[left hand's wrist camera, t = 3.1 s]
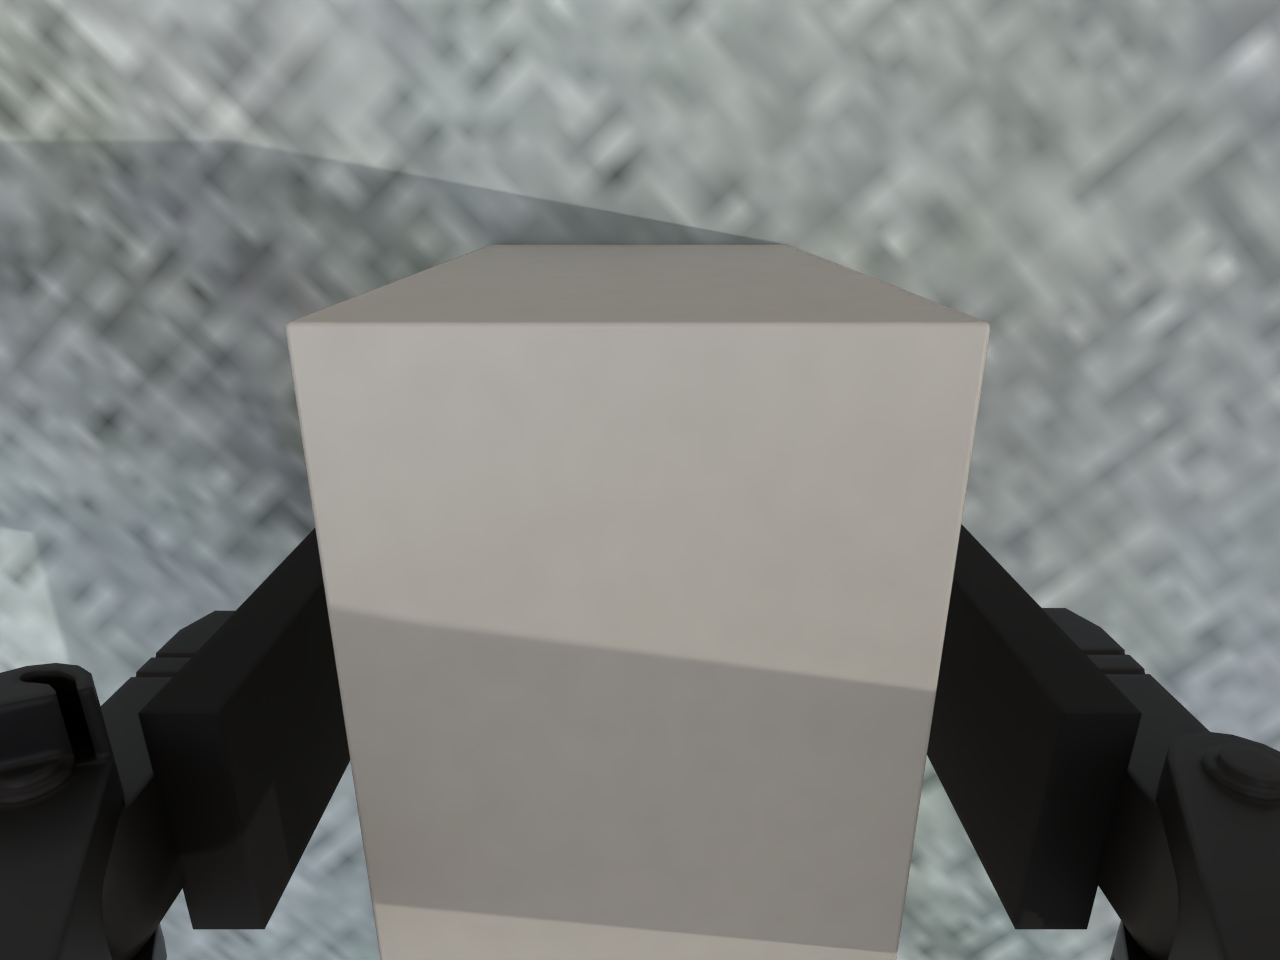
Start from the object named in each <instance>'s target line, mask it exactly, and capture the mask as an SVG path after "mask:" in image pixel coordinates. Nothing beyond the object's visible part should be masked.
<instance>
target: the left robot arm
mask: <svg viewBox="0 0 1280 960" xmlns="http://www.w3.org/2000/svg"><path fill="white" fill-rule="evenodd" d="M927 755H928V757H929V759H930V761H931V763H932V765H933V767H934V769H935V771H936V773H937V775H938V777H939V779H940V781H941V783H942V785H943V787H944V789H945V791H946V793H947V795H948V797H949V799H950V801H951V803H952V805H953V807H954V809H955V811H956V813H957V815H958V817H959V819H960V821H961V823H962V825H963V827H964V829H965V831H966V833H967V835H968V836H969V838H970V840H971V842H972V844H973V846H974V848H975V850H976V852H977V854H978V856H979V858H980V860H981V862H982V864H983V866H984V868H985V870H986V872H987V874H988V876H989V878H990V880H991V882H992V884H993V886H994V888H995V890H996V892H997V894H998V896H999V898H1000V900H1001V902H1002V904H1003V906H1004V908H1005V910H1006V912H1007V914H1008V916H1009V918H1010V919H1011V921H1012V923H1013V925H1014V927H1015V929H1087V926H1088V923H1089V919H1090V915H1091V911H1092V907H1093V903H1094V899H1095V895H1096V891H1097V887H1098V885H1099V887H1100V888H1101V890H1102V891H1103V893H1104V894H1105V896H1106V898H1107V899H1108V901H1109V902H1110V904H1111V905H1112V907H1113V908H1114V910H1115V911H1116V913H1117V914H1118V916H1119V917H1120V919H1121V922H1120V926H1119V930H1118V933H1117V937H1116V940H1115V944H1114V948H1113V951H1112V955H1111V959H1110V960H1280V752H1279V751H1277V750H1275V749H1273V748H1271V747H1269V746H1266V745H1264V744H1261V743H1258V742H1255V741H1251V740H1248V739H1245V738H1241V737H1238V736H1235V735H1230V734H1222V733H1213V732H1210V731H1209V730H1207V729H1206V728H1205V727H1204V726H1203V725H1202V724H1201V723H1200V722H1199V721H1198V720H1197V719H1196V718H1195V717H1194V716H1193V715H1192V714H1191V713H1190V712H1189V711H1188V710H1187V709H1186V708H1184V707H1183V706H1182V705H1181V704H1180V703H1179V702H1178V701H1177V700H1176V699H1175V698H1174V697H1173V696H1172V695H1171V694H1170V693H1169V692H1168V691H1167V690H1166V689H1165V688H1164V687H1162V686H1161V685H1160V684H1159V683H1158V682H1157V681H1156V680H1155V679H1154V678H1153V677H1152V676H1151V675H1150V674H1145V672H1144V668H1143V667H1142V666H1141V665H1139V664H1138V663H1137V662H1136V661H1135V660H1134V659H1133V658H1132V657H1131V656H1130V655H1125V650H1124V649H1123V648H1122V647H1121V646H1120V645H1119V644H1117V643H1116V642H1115V641H1114V640H1113V639H1112V638H1111V637H1110V636H1109V635H1108V634H1107V633H1106V632H1105V631H1104V630H1103V629H1102V628H1101V627H1099V626H1097V625H1095V624H1093V623H1092V622H1090V621H1088V620H1086V619H1084V618H1082V617H1081V616H1079V615H1077V614H1075V613H1073V612H1072V611H1070V610H1068V609H1066V608H1041V607H1040V606H1039V605H1038V604H1037V603H1036V602H1035V601H1034V600H1033V599H1032V598H1031V597H1030V596H1029V594H1028V593H1027V592H1026V591H1025V590H1024V589H1023V588H1022V587H1021V586H1020V585H1019V584H1018V583H1017V582H1016V581H1015V580H1014V579H1013V578H1012V577H1011V576H1010V575H1009V574H1008V572H1007V571H1006V570H1005V569H1004V568H1003V567H1002V566H1001V565H1000V564H999V563H998V562H997V561H996V560H995V559H994V558H993V557H992V556H991V555H990V554H989V553H988V552H987V550H986V549H985V548H984V547H983V546H982V545H981V544H980V543H979V542H978V541H977V540H976V539H975V538H974V537H973V536H972V535H971V534H970V533H969V532H968V531H967V530H966V528H965V527H964V526H963V525H962V524H961V528H960V535H959V542H958V548H957V555H956V562H955V568H954V575H953V582H952V588H951V595H950V602H949V609H948V615H947V622H946V629H945V635H944V642H943V649H942V655H941V662H940V669H939V676H938V682H937V689H936V696H935V702H934V709H933V716H932V723H931V729H930V736H929V743H928V749H927ZM349 761H350V754H349V747H348V740H347V734H346V727H345V720H344V714H343V707H342V701H341V694H340V687H339V681H338V674H337V668H336V661H335V654H334V648H333V641H332V634H331V628H330V621H329V615H328V608H327V601H326V595H325V588H324V582H323V575H322V568H321V562H320V555H319V548H318V542H317V535H316V529H315V528H314V530H313V531H312V532H311V533H310V534H309V535H308V536H307V537H306V538H305V539H304V540H303V541H302V542H301V543H300V544H299V545H298V546H297V547H296V548H295V549H294V550H293V552H292V553H291V554H290V555H289V556H288V557H287V558H286V559H285V560H284V561H283V562H282V563H281V564H280V565H279V566H278V567H277V568H276V569H275V570H274V571H273V572H272V574H271V575H270V576H269V577H268V578H267V579H266V580H265V581H264V582H263V583H262V584H261V585H260V586H259V587H258V588H257V589H256V590H255V591H254V592H253V593H252V594H251V596H250V597H249V598H248V599H247V600H246V601H245V602H244V603H243V604H242V605H241V606H240V607H239V608H238V609H237V610H236V611H214V612H212V613H210V614H208V615H207V616H205V617H203V618H201V619H199V620H198V621H196V622H194V623H192V624H190V625H189V626H187V627H185V628H183V629H181V630H180V631H179V632H178V633H177V634H176V635H174V636H173V637H172V638H171V639H170V640H169V641H168V642H167V643H166V644H165V645H164V646H163V647H162V648H161V649H160V650H159V651H158V652H157V653H156V658H151V659H150V660H148V661H147V662H146V663H145V664H144V665H143V666H142V667H141V668H140V669H139V670H138V671H137V672H136V677H131V678H130V679H129V680H128V681H127V682H126V683H125V684H124V685H123V686H121V687H120V688H119V689H118V690H117V691H116V692H115V693H114V694H113V695H112V696H111V697H110V698H109V699H108V700H107V701H106V702H105V703H104V704H103V705H102V706H101V707H100V703H99V700H98V696H97V692H96V689H95V685H94V681H93V678H92V674H91V673H89V672H88V671H86V670H85V669H83V668H81V667H80V666H77V665H68V664H60V663H52V664H42V665H33V666H25V667H21V668H18V669H14V670H10V671H6V672H2V673H0V960H166V959H167V954H166V948H165V941H164V937H163V933H162V930H161V926H160V922H161V920H162V919H163V917H164V916H165V914H166V913H167V911H168V909H169V908H170V906H171V905H172V903H173V902H174V900H175V899H176V897H177V896H178V894H179V893H180V891H181V890H182V888H183V891H184V895H185V899H186V903H187V907H188V911H189V915H190V919H191V923H192V926H193V929H265V927H266V925H267V923H268V921H269V920H270V918H271V916H272V914H273V912H274V910H275V908H276V906H277V904H278V902H279V900H280V898H281V896H282V894H283V892H284V890H285V888H286V886H287V884H288V882H289V880H290V878H291V876H292V874H293V872H294V870H295V868H296V866H297V864H298V862H299V860H300V858H301V856H302V854H303V852H304V850H305V848H306V846H307V844H308V842H309V840H310V839H311V837H312V835H313V833H314V831H315V829H316V827H317V825H318V823H319V821H320V819H321V817H322V815H323V813H324V811H325V809H326V807H327V805H328V803H329V801H330V799H331V797H332V795H333V793H334V791H335V789H336V787H337V785H338V783H339V781H340V779H341V777H342V775H343V773H344V771H345V769H346V767H347V765H348V763H349Z"/></svg>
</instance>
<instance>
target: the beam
mask: <svg viewBox="0 0 1280 960" xmlns="http://www.w3.org/2000/svg"><path fill="white" fill-rule="evenodd" d="M285 330H286V337H287V343H288V350H289V357H290V363H291V370H292V376H293V383H294V390H295V396H296V403H297V410H298V416H299V423H300V429H301V436H302V443H303V449H304V456H305V462H306V469H307V476H308V482H309V489H310V496H311V502H312V509H313V515H314V522H315V529H316V535H317V542H318V548H319V555H320V562H321V568H322V575H323V582H324V588H325V595H326V601H327V608H328V615H329V621H330V628H331V634H332V641H333V648H334V654H335V661H336V668H337V674H338V681H339V687H340V694H341V701H342V707H343V714H344V720H345V727H346V734H347V740H348V747H349V754H350V760H351V767H352V773H353V780H354V787H355V793H356V800H357V806H358V813H359V820H360V826H361V833H362V840H363V846H364V853H365V859H366V866H367V873H368V879H369V886H370V892H371V899H372V906H373V912H374V919H375V926H376V932H377V939H378V945H379V952H380V959H381V960H896V957H897V950H898V944H899V937H900V930H901V924H902V917H903V910H904V903H905V897H906V890H907V883H908V877H909V870H910V863H911V857H912V850H913V843H914V836H915V830H916V823H917V816H918V810H919V803H920V796H921V790H922V783H923V776H924V769H925V763H926V756H927V749H928V743H929V736H930V729H931V723H932V716H933V709H934V702H935V696H936V689H937V682H938V676H939V669H940V662H941V655H942V649H943V642H944V635H945V629H946V622H947V615H948V609H949V602H950V595H951V588H952V582H953V575H954V568H955V562H956V555H957V548H958V542H959V535H960V528H961V521H962V515H963V508H964V501H965V495H966V488H967V481H968V475H969V468H970V461H971V454H972V448H973V441H974V434H975V428H976V421H977V414H978V408H979V401H980V394H981V387H982V381H983V374H984V367H985V361H986V354H987V347H988V341H989V334H990V326H989V323H987V322H985V321H982V320H980V319H977V318H975V317H972V316H970V315H967V314H964V313H962V312H959V311H957V310H954V309H952V308H949V307H946V306H944V305H941V304H939V303H936V302H934V301H931V300H928V299H926V298H923V297H921V296H918V295H915V294H913V293H910V292H908V291H905V290H903V289H900V288H897V287H895V286H892V285H890V284H887V283H885V282H882V281H879V280H877V279H874V278H872V277H869V276H867V275H864V274H861V273H859V272H856V271H854V270H851V269H849V268H846V267H843V266H841V265H838V264H836V263H833V262H831V261H828V260H825V259H823V258H820V257H818V256H815V255H813V254H810V253H807V252H805V251H802V250H800V249H797V248H795V247H792V246H789V245H489V246H486V247H484V248H481V249H478V250H476V251H473V252H471V253H468V254H465V255H463V256H460V257H457V258H455V259H452V260H450V261H447V262H444V263H442V264H439V265H437V266H434V267H431V268H429V269H426V270H424V271H421V272H418V273H416V274H413V275H411V276H408V277H405V278H403V279H400V280H398V281H395V282H392V283H390V284H387V285H384V286H382V287H379V288H377V289H374V290H371V291H369V292H366V293H364V294H361V295H358V296H356V297H353V298H351V299H348V300H345V301H343V302H340V303H338V304H335V305H332V306H330V307H327V308H324V309H322V310H319V311H317V312H314V313H311V314H309V315H306V316H304V317H301V318H298V319H296V320H293V321H291V322H289V323H287V324H286V328H285Z"/></svg>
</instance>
